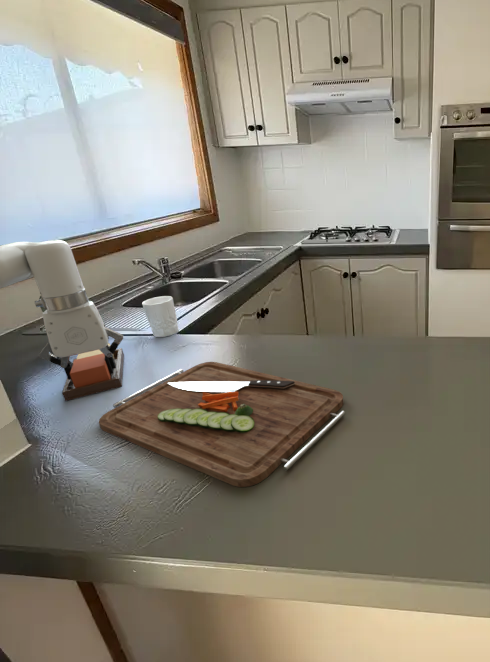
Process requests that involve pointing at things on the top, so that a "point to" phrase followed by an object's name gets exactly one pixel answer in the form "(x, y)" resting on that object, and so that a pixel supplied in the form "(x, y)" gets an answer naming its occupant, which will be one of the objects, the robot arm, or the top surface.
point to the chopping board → (225, 420)
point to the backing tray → (113, 382)
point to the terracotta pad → (89, 370)
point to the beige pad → (90, 353)
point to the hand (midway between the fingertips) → (93, 375)
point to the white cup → (161, 315)
